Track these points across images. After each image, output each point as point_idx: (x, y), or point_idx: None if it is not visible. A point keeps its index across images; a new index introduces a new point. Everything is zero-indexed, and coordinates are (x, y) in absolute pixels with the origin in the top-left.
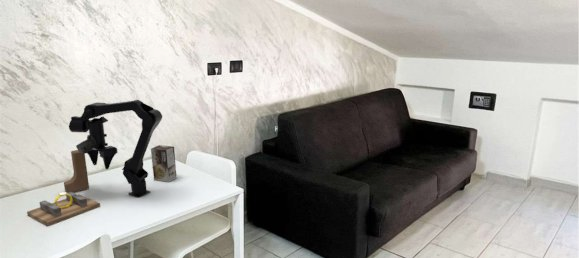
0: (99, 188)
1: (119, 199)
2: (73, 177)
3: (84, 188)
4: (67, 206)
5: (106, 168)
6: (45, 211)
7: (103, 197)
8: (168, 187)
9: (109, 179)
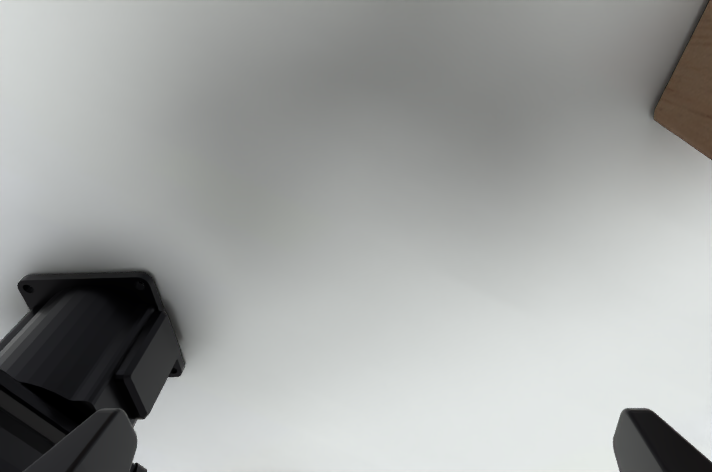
0: (541, 191)
1: (80, 165)
2: None
3: (685, 66)
4: None
5: (85, 428)
6: None
7: (249, 90)
8: None
9: (663, 354)
